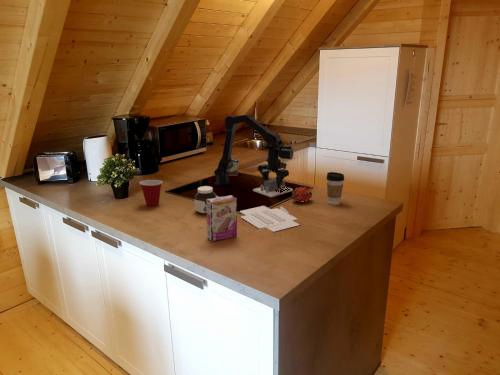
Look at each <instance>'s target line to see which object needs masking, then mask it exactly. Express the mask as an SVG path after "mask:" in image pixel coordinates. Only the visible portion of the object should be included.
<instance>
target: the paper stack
mask: <svg viewBox="0 0 500 375" xmlns="http://www.w3.org/2000/svg"><path fill="white" fill-rule="evenodd" d="M239 213H241V214H243V215H242V216H240V218H241V219H244V220H245V221H246V222H248V223H250V225H251V224H252V225H253V226H254V227H256V228H258V230H261V229H262V230H263V229H267V230H269V231H270V232H272V233H274V232H277V231H282V230H286V229H289V228H292V227H296V226H297V227H298V226H301V224H300V223H298V222H295V221H298V217H295V216H293V215H292V214H289V213H290V212H289V211H288V210H287V209H286V208H284V206H282V205H281V206H280V207H279V208H272V209H271V208H270V207H268V206H266V205H261V206H257V207H253V208H248V209H243V210H240V211H239Z"/></svg>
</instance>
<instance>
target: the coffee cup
mask: <svg viewBox="0 0 500 375" xmlns="http://www.w3.org/2000/svg"><path fill="white" fill-rule="evenodd" d="M326 181H327V182H326V185H327V186H326V187H327V188H326V189H327V190H326V191H327V193H326V194H327V204H328V205H331V206H339V205H340V204H341V199H342V195H343V194H342V193H343V188H344V181H345V175H344V173H341V172H336V171H335V172H334V171H329V172H327V174H326ZM328 201H331V202H339V201H340V203H330V202H328Z"/></svg>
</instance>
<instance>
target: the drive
mask: <svg viewBox="0 0 500 375" xmlns="http://www.w3.org/2000/svg"><path fill="white" fill-rule="evenodd" d="M263 186H264V190H266V187H268V191H269V192H271V191H274V190H277V189H280V188H282V186H283V182H282V183H281V186H280V188H278V186H277V181H276V177H274V178H270V179H268V180H266V181H264V180H263Z"/></svg>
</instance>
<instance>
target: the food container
mask: <svg viewBox="0 0 500 375" xmlns="http://www.w3.org/2000/svg"><path fill="white" fill-rule="evenodd" d="M231 159H232V160H234V162H233V167H232V168H231V169H230V171H229V173H228V175H229V177H230V176H231V177H232V176H235V177H236V176H238V172H239V164H240V160H239V158H238V157H231ZM220 160H221V158H220V159H219V161H220Z"/></svg>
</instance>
